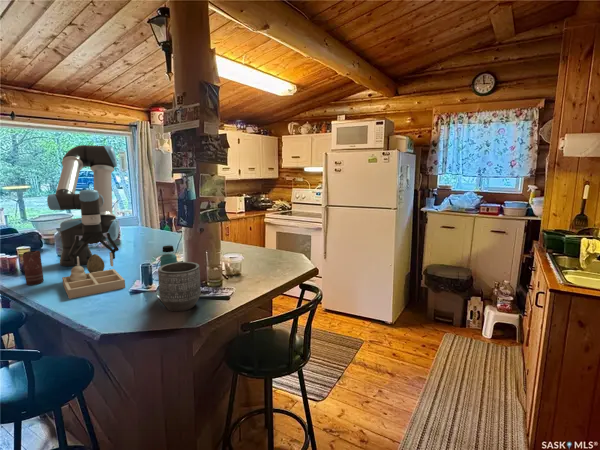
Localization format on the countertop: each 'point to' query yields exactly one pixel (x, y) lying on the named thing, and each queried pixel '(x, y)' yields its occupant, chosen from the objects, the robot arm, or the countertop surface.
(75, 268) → the beige stacked dome figurine
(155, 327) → the countertop surface
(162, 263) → the beverage bottle
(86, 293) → the wooden compartment tray
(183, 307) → the planter
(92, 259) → the decorative egg
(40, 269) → the can
